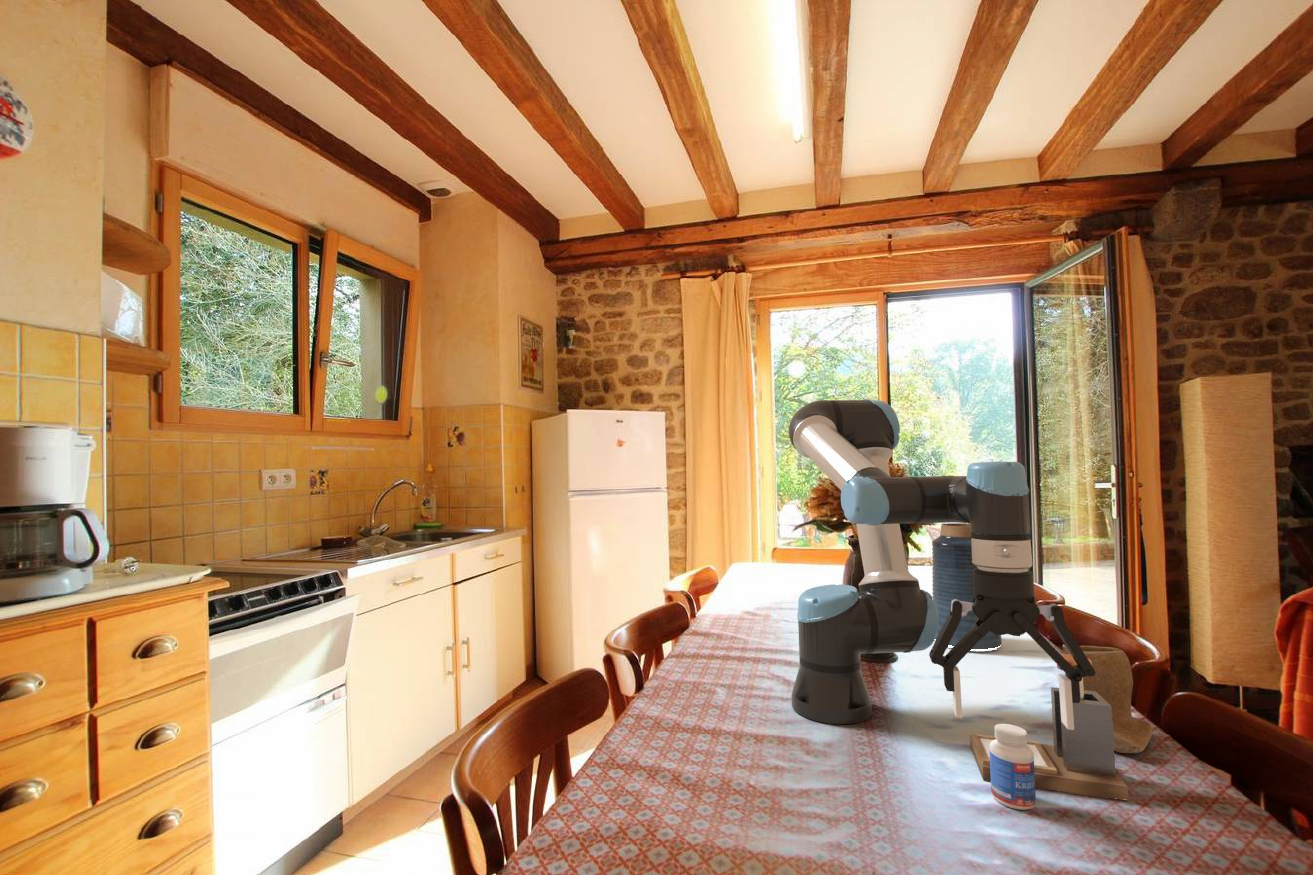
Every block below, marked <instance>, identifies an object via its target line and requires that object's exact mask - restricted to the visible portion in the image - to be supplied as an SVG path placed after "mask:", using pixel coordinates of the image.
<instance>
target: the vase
mask: <svg viewBox="0 0 1313 875" xmlns="http://www.w3.org/2000/svg"><path fill="white" fill-rule="evenodd" d="M940 524H941V525H940V535H939V536H937V537H936V538H935V539H933V540H932V541H931V543H932V544H931V546H932V548H931V550H932V551H931V552H932V556H931V558H932V560H931V561H932V564H931V565H932V568H931V569H932V573H931V574H932V576H931V577H932V584H931V585H932V588H931V590H932V593H931V596H932V599H933V600H934V601H935V603H936V606H937V610H938V631H937V635H936V637H935V639H937V637H938V635H939V633H940V631H941V629H942V627H943V625H944V624H945V622H946V620H947V618H948V616H949V614H950V604H951V600H952V599H953V598H956V599H958V600H959V601H964V602H971V603H972V601H973V599H974V583H973V570H974V569H975V568H977V566H976V565H974V564H973V563H972V545H971V528H970V524H969V523H956V522H949V523H940ZM977 620H978V617H977V616H976V615H975V614H974V612H973V611H968V612H967V615H966V616H964V617H962V616H961V620H960V623H959V625H958V627H957V629H956V631H955V633H954V635H953V637H952V639H951V641H950V643H949V645H952V646H955V645H956V644H957V643H958V642H959V640H960V639H961V638H962V637H963V636H964V635H965V634H966V633H967V632H968V631H969V630H970V629H971V627H972V625H973V624H974V623H975V622H976V621H977ZM1002 640H1003V639H1002V635H995V634H994V633H992V632H990V631H989V632H988V633H987V634H986V635H985V636H984V637H982V638H981V639H980V640H979V641H978V642H977V643H976V644H975V646H974V647H973V648H972V649H988V648H995V647H998V646H1000V645H1001V644H1003V642H1002ZM1001 646H1002V645H1001Z"/></svg>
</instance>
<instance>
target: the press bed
mask: <svg viewBox="0 0 1313 875" xmlns="http://www.w3.org/2000/svg"><path fill="white" fill-rule="evenodd" d="M995 739H996V738H995V735H988V734H982V733H981V734H979V733H974V732H973V733H972V732H971V734H970V735H969V742H970V746H969V747H970V750H971V752H972V754H973V757H974V760H975V762H976V765H977V768H978V770H979V773H980V776H981V778H982V780H983V781H986V782H991V774H990V743H991V742H992V741H993V740H995ZM1026 745H1027V746H1028V747H1029V748H1030V749H1031V750H1032V752H1033V755H1034V774H1035V789H1039V788H1040V789H1041V790H1046V789H1049V790H1048V791H1053V790H1056V791H1055V792H1060V791H1064V792H1063V793H1067V792H1068V793H1067V794H1076V795H1083V796H1087V797H1088V796H1089V797H1095V796H1097V798H1102V797H1107V798H1106V799H1108V798H1117V799H1127V800H1128V801H1129V791H1128V788H1129V787H1128V785H1127V784H1126V783H1125V781H1123V780H1122V778H1121V777H1120V776H1119V774H1118V773H1117V772H1116V777H1111V776H1104V775H1096V774H1089V773H1081V772H1074V771H1067V770H1066V768H1065V767H1064V765H1063V757H1057V755H1056V754H1055V752H1054V744H1046V743H1040V742H1039V741H1037V740H1029V739H1028V742H1027V744H1026ZM1042 788H1043V789H1042ZM1058 790H1059V791H1058Z"/></svg>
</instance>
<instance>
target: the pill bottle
mask: <svg viewBox="0 0 1313 875" xmlns="http://www.w3.org/2000/svg"><path fill="white" fill-rule="evenodd" d="M994 736H995V738H996V739H995V740H993V741H992V742H991V743H990V774H991V781H990V790H991V796H992V797H993V799H994V801H995V800H996V802H998V803H999V804H1001V805H1003V806H1005V807H1007V808H1010V809H1015V810H1019V811H1020V810H1021V811H1023V810H1024V811H1025V810H1027V811H1028V810H1033V809H1034V808H1035V807H1036V802H1037V800H1036V799H1037V798H1036V788H1035V774H1034V755H1033V752H1032V750H1031V749H1030V748H1029V747H1028V746H1027V745H1026V744H1027V742H1028V740H1029V739H1028V732H1027V730H1025V729H1024V728H1022V727H1020V726H1018V725H1014V724H1009V723H997V724H995V726H994Z"/></svg>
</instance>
